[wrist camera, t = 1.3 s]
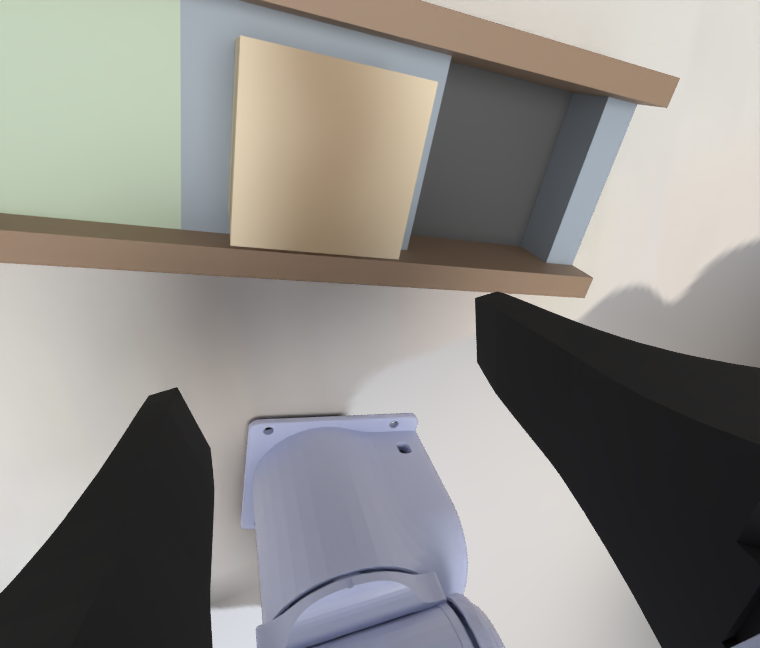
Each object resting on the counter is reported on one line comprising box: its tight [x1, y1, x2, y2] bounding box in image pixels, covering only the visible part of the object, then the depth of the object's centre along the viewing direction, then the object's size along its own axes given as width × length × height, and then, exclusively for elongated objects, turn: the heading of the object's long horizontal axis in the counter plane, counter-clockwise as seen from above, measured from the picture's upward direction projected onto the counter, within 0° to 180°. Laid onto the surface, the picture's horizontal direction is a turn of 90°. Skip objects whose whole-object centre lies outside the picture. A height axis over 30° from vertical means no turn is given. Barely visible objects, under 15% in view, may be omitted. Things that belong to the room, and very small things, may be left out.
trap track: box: [0, 0, 680, 298], centre depth 15 cm, size 31×9×4 cm, turn 79°
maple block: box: [228, 35, 438, 260], centre depth 14 cm, size 5×5×4 cm
